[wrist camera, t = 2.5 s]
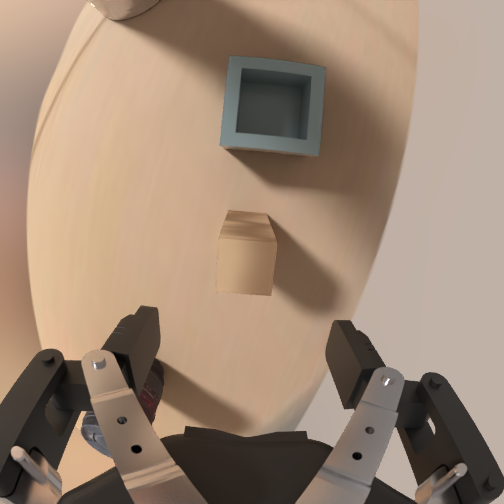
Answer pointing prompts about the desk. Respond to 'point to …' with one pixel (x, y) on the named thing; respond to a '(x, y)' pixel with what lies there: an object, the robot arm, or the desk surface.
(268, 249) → the tan wooden block
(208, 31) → the desk surface
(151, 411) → the camera lens
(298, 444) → the robot arm
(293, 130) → the slate open square box
